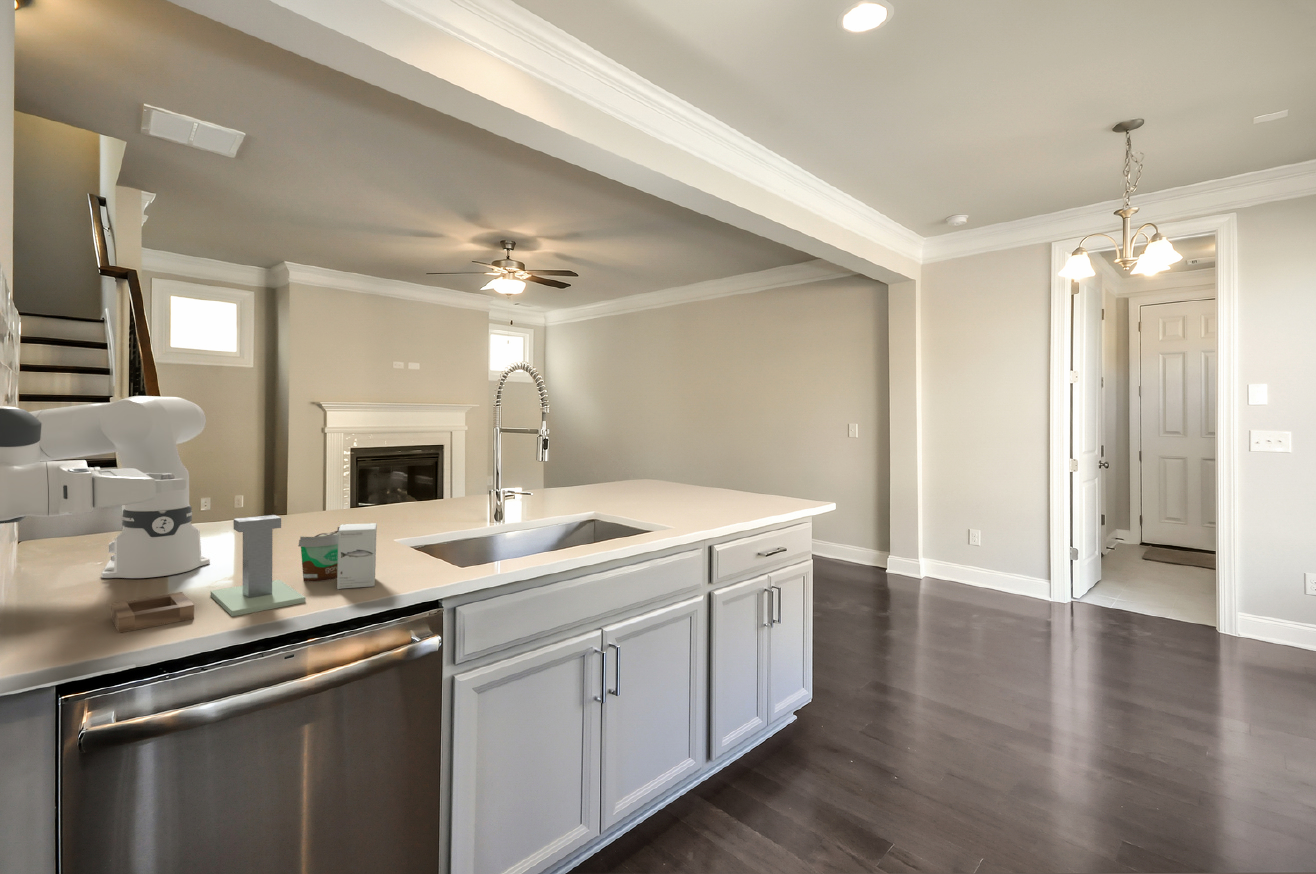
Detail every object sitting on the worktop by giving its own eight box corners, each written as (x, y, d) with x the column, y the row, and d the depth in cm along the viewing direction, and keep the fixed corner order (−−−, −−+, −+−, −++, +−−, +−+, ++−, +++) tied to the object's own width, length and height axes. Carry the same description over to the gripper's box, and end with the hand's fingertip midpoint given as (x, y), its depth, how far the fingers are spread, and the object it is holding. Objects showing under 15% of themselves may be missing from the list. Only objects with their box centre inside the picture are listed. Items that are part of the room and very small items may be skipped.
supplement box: (336, 590, 126) (336, 530, 125) (339, 580, 133) (339, 523, 132) (375, 587, 129) (376, 528, 128) (376, 577, 136) (377, 522, 135)
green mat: (210, 595, 120) (210, 590, 120) (279, 584, 129) (279, 579, 128) (232, 616, 109) (232, 611, 109) (305, 602, 118) (305, 597, 118)
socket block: (110, 617, 107) (110, 603, 106) (182, 605, 114) (182, 591, 114) (118, 632, 100) (118, 618, 100) (194, 618, 107) (193, 604, 107)
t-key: (233, 595, 117) (233, 518, 117) (274, 588, 123) (274, 514, 122) (239, 600, 115) (239, 521, 114) (280, 592, 120) (281, 517, 119)
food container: (322, 585, 129) (323, 539, 128) (298, 583, 130) (298, 537, 129) (362, 570, 141) (362, 528, 140) (339, 568, 142) (339, 526, 141)
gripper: (67, 498, 105) (168, 491, 115) (78, 515, 92) (192, 505, 102) (66, 462, 105) (167, 458, 115) (77, 474, 91) (191, 468, 101)
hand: (179, 480), depth 108 cm, fingers open, 8 cm apart
